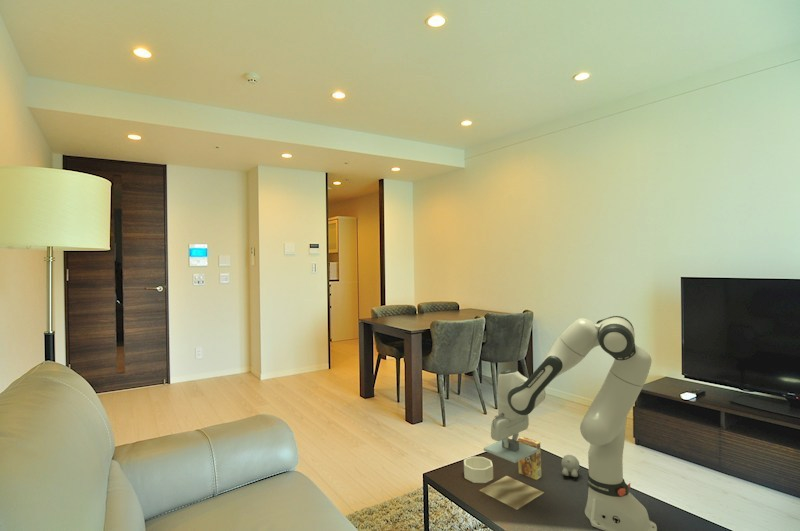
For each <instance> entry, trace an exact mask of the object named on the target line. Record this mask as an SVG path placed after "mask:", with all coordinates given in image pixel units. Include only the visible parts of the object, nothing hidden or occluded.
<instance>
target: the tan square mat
mask: <svg viewBox="0 0 800 531" xmlns="http://www.w3.org/2000/svg"><path fill="white" fill-rule="evenodd" d="M478 491H479V492H481V493H483V494H484V495H485V494H486V496H489V497H492V498H493V499H495V500H497V501H499V502H501V503H503V504H505V506H506V505H507V506H509V507H511V508H512V509H514V510H519V509H520V508H523V507H524V506H525V505H527V504H529V503H530V502H532V501H533V500H535V499H536V498H538V497H540V496H541V495H544V493H545V492H544V491H542V490H539V489H538V488H535V487H533V486H530V485H528V484H526V483H524V482H521V481H520V480H518V479H515V478H513V477H511V476H508V475H505V476H503V477H501V478H499V479H498V480H496V481H494V482H492V483H490V484H488V485H486V486H484V487H483V488H481V489H479V490H478Z"/></svg>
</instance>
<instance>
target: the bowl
mask: <svg viewBox="0 0 800 531" xmlns="http://www.w3.org/2000/svg"><path fill="white" fill-rule="evenodd" d="M492 461H493V460H492V459H489V458H487V457H484V456H469V457H467V458H464V459H463V474H464V475H463V476H464V479H466V480H467V481H469V482H472V483H475V484H486V483H489V482H490V481H493V480H494V466H493V462H492Z"/></svg>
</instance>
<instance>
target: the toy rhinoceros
mask: <svg viewBox="0 0 800 531" xmlns="http://www.w3.org/2000/svg"><path fill="white" fill-rule="evenodd" d="M580 466H581V465H580V461H579V459H578V457H576V456H574V455H572V454H566V455H564V456H563V457H562V458H561V467H562V471H561V474H562V475H563V476H566V477H569V476H571V477H572V478H578V477H579V474H578V471H579V469H580Z"/></svg>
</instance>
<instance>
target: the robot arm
mask: <svg viewBox="0 0 800 531" xmlns="http://www.w3.org/2000/svg"><path fill="white" fill-rule="evenodd" d="M635 338H636V333H635V329H634V326H633V323H632V322H631V321H630V320H628V319H627V318H625V317H624V316H621V315H620V316H619V315H613V316H610V317H606V318H602V319H600V320H598V321H596V323H595V322H594V321H593V320H591V319H589V318H584V317H582V318H581V317H580V318H577V319H576V320H575V321H573V322H572V323H571V324H569V326H568V327H566V328H565V329H564V330H563V331H562V333H561V334H560V335H559V336H558V337H557V339H556V340H555V342H554V343H553V344H552V346H551V348H550V349H549V351H547V354H546V356H545V357H544V359H543V361H542V362H541V363H540V365H539V366H538V367H537V368H536V369H535V371H534V372H533V373H531V375H529V377H526V376H524V375H523V374H521V372H519V371H518V370H516V369H506V370H502V371H501V372H500V373H499V374H498V377H497V394H498V401H497V410H498V411H497V412H498V415H495V416H494V418H493V419H492V422H491V424H490V425H491V427H490V438H491V439H492V440H494V441H496V442H498V441H501V440H503V442H504V447H505V448H509V447H510V443H509V442H508V438H509V437H511V439H512V440H515V441H517V442H518V440H517V439H519V438H518V437H519V434H520V433H521V432H524V431H526V430H527V429H528V427H529V426H530V425H529V422H530V420H529V419H530V418H529V414H531V413H532V412H533V410H534V409H536V408H538V406H539V405H540V404H542V402H544V401H545V398H546V390H545V389H546V388H547V387H548V386H549V384H550V383H551V382H552V381H554V380H555V379H556V378H558V377H559V376H560V375H562V374H564V373H566V372H567V371H569V370H571V369H572V368H574V367H575V366H577V365H578V364H580V362H582V360H584V359H585V357H587V355H588V354H589V353H590V352H591V350H593V349H595V348H596V347H599V346H600V347H601V349H602V350H603V351H604V352H605V353H607V354H608V355H610V356H611V357H612V358H613V359H614V360H613V363H612V365H611V367H610V369H609V371H608V373H607V374H606V377H605V379H604V380H603V384H602V385H601V388H600V389H599V391H597V392H598V393H597V394H596V396H595V397H594V399H593V400H592V402H591V404H590V406H589V408H588V409H587V411H586V412H585V415H584V417H583V418H582V420H581V422H580V425H579V426H580V427H579V430H580V433H581V436H582V437H583V439H584V440H585V441H586V442H587V443H589V444H590V445H589V448H588V453H587V454H588V455H587V456H588V457H587V458H588V464H587V465H588V472H587V489H588V492H587V501H586V505H585V508H584V514H585V517H586V519H588V520H589V521H590V522H589V523H590V525H591V527H594V528H596V529H599V530H602V531H658V528H657V524H656V522H653V521H652V520H650V517H649V514H648V511H647V508H646V506H645V505H643V504H642V503H641V502H640V501H639V500H638V499H637V498H636V497H635V496H634V495H633V494H632V493H631V492H630V491H629V490H630V488H631V482H629V483H628V484H627V483H626V481H625V479H624V472H623V471H624V470H623V469H624V468H623V464H624V463H623V458H624V455H623V454H624V449H625V440H626V438H625V437H626V427H627V421H628V420H627V419H628V414H629V413H630V412H631V410H632V408H633V407H634V405H635V402H636V401H637V399H638V397H639V395H640V393H641V391H642V389H643V387H644V385H645V384H646V380H647V379H648V376H649V373H650V370H651V367H652V363H653V362H652V361H653V360H652V356H651V355H650V353H649V352H648V351H646V350H645V349H644V348H641V347H639V346H637V344H636V343H635V342H636V340H635Z"/></svg>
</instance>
